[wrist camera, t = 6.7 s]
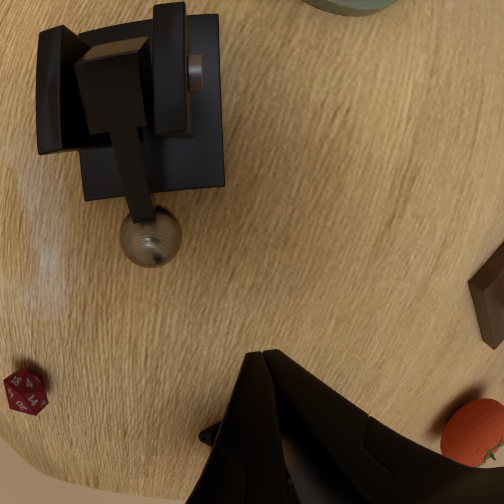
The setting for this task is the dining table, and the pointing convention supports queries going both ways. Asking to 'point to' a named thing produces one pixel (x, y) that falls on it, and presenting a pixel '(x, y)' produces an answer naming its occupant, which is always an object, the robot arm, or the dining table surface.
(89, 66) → the lever
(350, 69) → the dining table surface
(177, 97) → the switch bracket
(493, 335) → the dimmer box
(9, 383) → the dice
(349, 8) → the lamp
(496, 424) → the tomato
